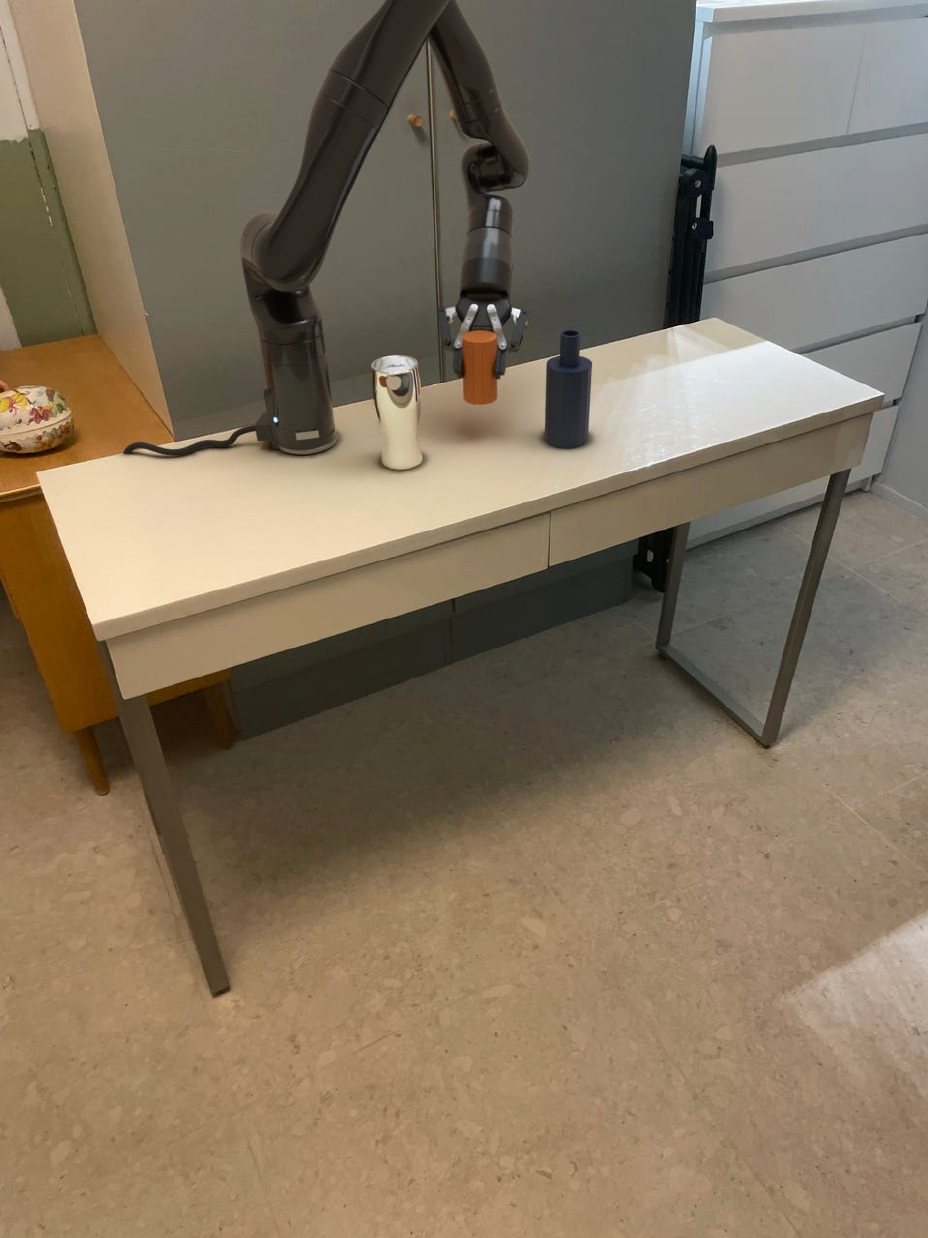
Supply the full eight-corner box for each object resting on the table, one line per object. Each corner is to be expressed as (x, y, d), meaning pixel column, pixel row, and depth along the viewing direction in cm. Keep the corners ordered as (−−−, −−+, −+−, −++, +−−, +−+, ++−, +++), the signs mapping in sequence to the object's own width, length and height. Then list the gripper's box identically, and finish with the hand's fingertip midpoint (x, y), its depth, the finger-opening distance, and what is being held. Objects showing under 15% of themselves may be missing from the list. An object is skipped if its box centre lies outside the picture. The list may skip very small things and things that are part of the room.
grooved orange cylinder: (461, 404, 139) (460, 342, 134) (466, 390, 143) (464, 329, 138) (495, 405, 139) (494, 342, 133) (498, 391, 143) (498, 330, 137)
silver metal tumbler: (419, 473, 136) (412, 374, 127) (373, 469, 137) (363, 372, 128) (430, 451, 141) (424, 355, 132) (385, 448, 142) (377, 353, 133)
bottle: (543, 447, 141) (546, 341, 131) (546, 428, 146) (548, 324, 136) (587, 448, 140) (593, 341, 130) (588, 429, 146) (594, 325, 136)
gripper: (436, 254, 136) (426, 365, 134) (534, 255, 135) (526, 367, 133) (442, 279, 144) (434, 385, 142) (535, 281, 142) (528, 388, 140)
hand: (478, 376), depth 137 cm, fingers closed on grooved orange cylinder, 5 cm apart
